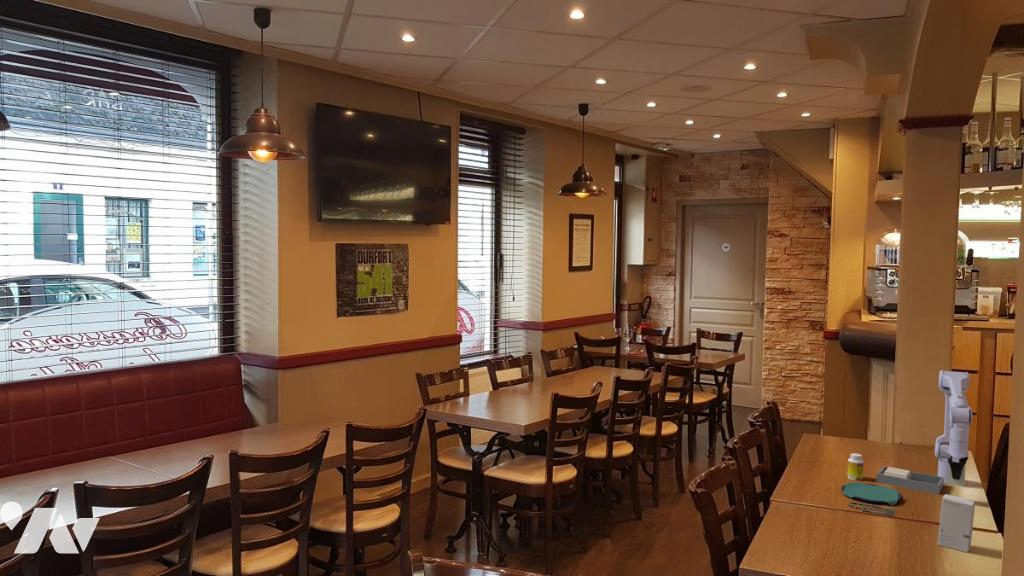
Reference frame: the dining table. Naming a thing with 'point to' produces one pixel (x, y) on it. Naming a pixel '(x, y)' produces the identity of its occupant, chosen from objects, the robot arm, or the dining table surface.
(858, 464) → the supplement bottle
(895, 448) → the dining table surface
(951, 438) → the robot arm
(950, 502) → the skincare box
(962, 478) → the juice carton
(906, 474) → the beige flat block
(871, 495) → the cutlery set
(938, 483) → the tote
